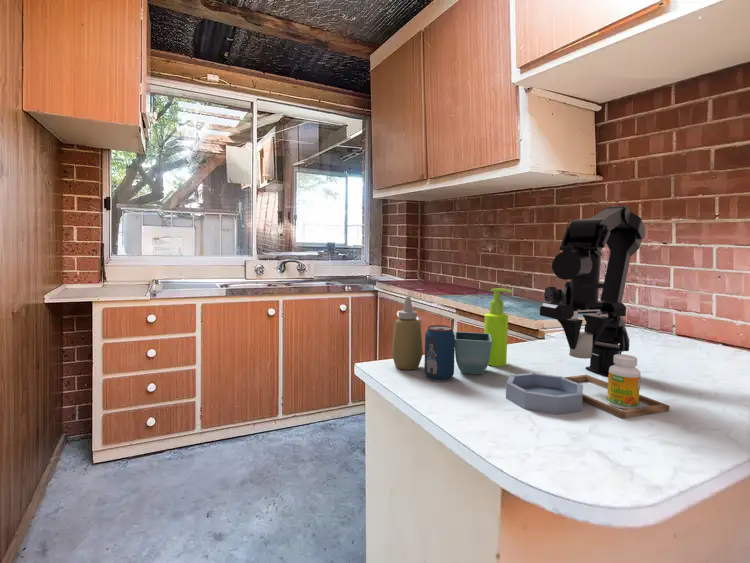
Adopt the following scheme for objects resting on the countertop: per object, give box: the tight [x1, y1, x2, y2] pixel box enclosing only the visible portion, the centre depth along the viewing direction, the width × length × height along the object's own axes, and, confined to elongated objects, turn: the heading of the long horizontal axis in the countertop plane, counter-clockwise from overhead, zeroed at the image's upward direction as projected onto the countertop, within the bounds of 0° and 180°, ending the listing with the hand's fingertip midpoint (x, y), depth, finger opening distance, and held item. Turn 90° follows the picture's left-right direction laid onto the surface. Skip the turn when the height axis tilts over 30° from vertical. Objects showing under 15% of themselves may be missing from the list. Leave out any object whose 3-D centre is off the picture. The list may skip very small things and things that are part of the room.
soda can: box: [423, 324, 455, 382], centre depth 99 cm, size 7×7×12 cm
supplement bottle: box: [606, 353, 642, 410], centre depth 83 cm, size 5×5×10 cm
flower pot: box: [454, 331, 492, 375], centre depth 104 cm, size 9×9×9 cm
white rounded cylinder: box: [569, 331, 593, 360], centre depth 92 cm, size 4×4×5 cm
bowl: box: [505, 372, 584, 415], centre depth 85 cm, size 14×14×3 cm
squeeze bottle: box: [391, 296, 424, 371], centre depth 106 cm, size 8×8×18 cm
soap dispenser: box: [483, 287, 514, 367], centre depth 110 cm, size 6×7×20 cm
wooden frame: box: [563, 374, 670, 419], centre depth 88 cm, size 12×20×1 cm, turn 18°
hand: (580, 348), depth 92 cm, fingers closed on white rounded cylinder, 4 cm apart
